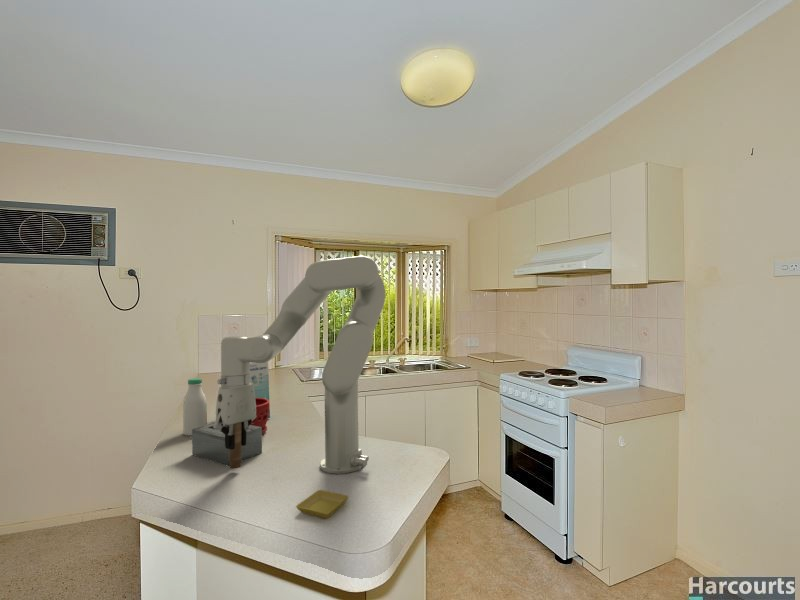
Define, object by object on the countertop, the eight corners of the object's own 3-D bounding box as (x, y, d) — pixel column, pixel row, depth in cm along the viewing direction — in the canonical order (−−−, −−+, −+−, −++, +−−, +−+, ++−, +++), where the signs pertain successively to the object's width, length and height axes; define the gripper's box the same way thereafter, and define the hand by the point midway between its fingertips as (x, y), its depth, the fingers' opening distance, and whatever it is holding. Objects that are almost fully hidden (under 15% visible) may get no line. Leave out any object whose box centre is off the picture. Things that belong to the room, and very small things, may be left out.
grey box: (261, 452, 124) (261, 427, 124) (227, 466, 114) (227, 438, 114) (226, 443, 133) (226, 419, 133) (192, 454, 123) (192, 429, 123)
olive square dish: (327, 523, 83) (327, 513, 83) (295, 515, 86) (295, 505, 86) (349, 504, 90) (349, 495, 90) (319, 498, 94) (319, 489, 94)
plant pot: (223, 439, 138) (223, 404, 138) (246, 428, 151) (246, 396, 151) (255, 441, 135) (255, 406, 135) (276, 429, 147) (276, 398, 148)
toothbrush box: (230, 415, 169) (229, 359, 170) (254, 411, 176) (253, 357, 177) (245, 424, 156) (244, 363, 156) (270, 418, 163) (269, 360, 163)
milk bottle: (205, 434, 143) (205, 379, 144) (181, 437, 140) (181, 381, 141) (207, 428, 150) (207, 376, 151) (184, 431, 148) (184, 378, 148)
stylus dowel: (243, 465, 110) (243, 415, 110) (234, 469, 107) (234, 418, 107) (236, 463, 111) (237, 414, 112) (227, 467, 109) (227, 416, 109)
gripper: (217, 386, 101) (217, 458, 100) (268, 377, 115) (268, 440, 114) (200, 384, 105) (199, 453, 104) (251, 375, 119) (251, 436, 118)
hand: (235, 446), depth 109 cm, fingers closed on stylus dowel, 3 cm apart
